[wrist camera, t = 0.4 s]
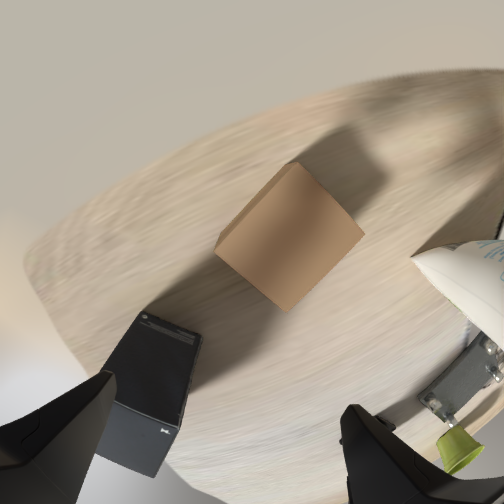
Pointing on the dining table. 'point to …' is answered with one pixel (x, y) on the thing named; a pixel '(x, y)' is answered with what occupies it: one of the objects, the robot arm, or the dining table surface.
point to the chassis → (462, 379)
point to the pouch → (470, 281)
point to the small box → (148, 392)
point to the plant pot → (457, 449)
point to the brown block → (288, 236)
